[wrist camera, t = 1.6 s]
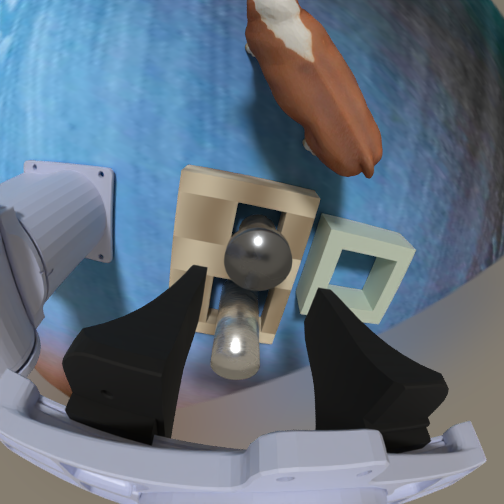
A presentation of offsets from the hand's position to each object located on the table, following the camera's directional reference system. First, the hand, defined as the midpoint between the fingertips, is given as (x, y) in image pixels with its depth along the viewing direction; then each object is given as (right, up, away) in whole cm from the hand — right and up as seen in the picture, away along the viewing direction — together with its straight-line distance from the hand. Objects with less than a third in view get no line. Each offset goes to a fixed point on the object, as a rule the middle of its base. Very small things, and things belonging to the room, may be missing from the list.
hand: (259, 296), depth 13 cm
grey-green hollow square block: (+7, +1, +10) cm, 13 cm away
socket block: (-1, +1, +10) cm, 10 cm away
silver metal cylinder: (-1, -1, +11) cm, 11 cm away
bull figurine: (+2, +14, +4) cm, 14 cm away
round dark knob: (0, +3, +6) cm, 7 cm away
